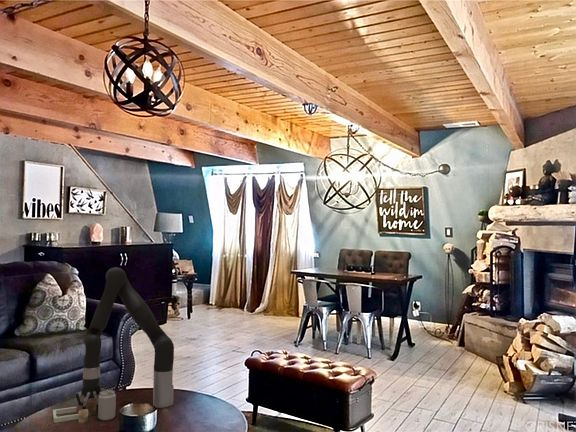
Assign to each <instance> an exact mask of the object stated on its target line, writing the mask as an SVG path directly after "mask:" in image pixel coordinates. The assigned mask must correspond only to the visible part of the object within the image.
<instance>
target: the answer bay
mask: <svg viewBox="0 0 576 432" xmlns="http://www.w3.org/2000/svg"><path fill="white" fill-rule="evenodd" d="M76 412H78V406H72V407H64V408H57V409H52V419H53V423H54V424H55V423H56V424H57V423H61V422H68V421H75V420H78V417H79V413H76ZM69 413H73V414H69ZM74 413H75V414H74ZM56 414H57V415H60V416H57V415H56ZM63 414H68V415H63ZM61 415H62V416H61Z"/></svg>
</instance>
